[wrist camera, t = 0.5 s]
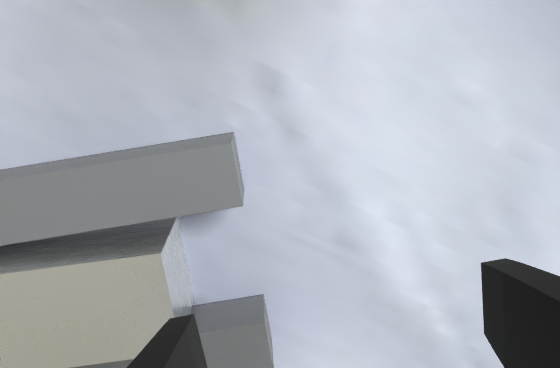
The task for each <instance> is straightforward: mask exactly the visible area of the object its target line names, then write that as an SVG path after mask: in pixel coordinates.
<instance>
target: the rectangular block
mask: <svg viewBox="0 0 560 368" xmlns="http://www.w3.org/2000/svg"><path fill="white" fill-rule="evenodd" d="M193 300H194V298H193V292H192V287H191V282H190V277H189V271H188V266H187V261H186V256H185V250H184V245H183V240H182V235H181V229H180V224H179V219H178V217H173V218H167V219H161V220H155V221H149V222H143V223H137V224H131V225H124V226H118V227H112V228H106V229H100V230H94V231H88V232H82V233H76V234H70V235H64V236H57V237H51V238H45V239H39V240H33V241H27V242H21V243H15V244H9V245H3V246H0V368H71V367H78V366H86V365H93V364H101V363H108V362H116V361H123V360H130V359H135V357H136V356H137V355H138V354H139V353H140V352H141V351H142V349H143V348H144V347H145V346H146V345H147V344H148V343H149V341H150V340H151V339H152V338H153V337H154V336H155V334H156V333H157V332H158V331H159V330H160V329H161V327H162V326H163V325H164V324H165V323H166V322H167V321H168V320H169V319H170V318H175V317H181V316H186V315H190V313H191V309H192V305H193Z"/></svg>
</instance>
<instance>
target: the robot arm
mask: <svg viewBox="0 0 560 368" xmlns="http://www.w3.org/2000/svg"><path fill="white" fill-rule="evenodd" d="M481 272H482V295H483V317H484V334H485V336H486V338H487V339H488V341H489V343H490V344H491V346H492V348H493V350H494V351H495V353H496V355H497V356H498V358H499V360H500V361H501V363H502V364H503V366H504V368H560V276H557V275H554V274H551V273H549V272H546V271H543V270H540V269H538V268H535V267H532V266H529V265H526V264H523V263H520V262H517V261H513V260H509V259H500V260H494V261H489V262H483V263H481ZM127 368H208V367H207V363H206V359H205V355H204V351H203V347H202V343H201V339H200V335H199V331H198V327H197V323H196V319H195V315H194V314H192V315H186V316H181V317H175V318H170V319H169V320H168V321H167V322H166V323H165V324H164V325H163V326H162V327H161V329H160V330H159V331H158V332H157V333H156V334H155V336H154V337H153V338H152V339H151V340H150V341H149V343H148V344H147V345H146V346H145V347H144V348H143V349H142V351H141V352H140V353H139V354H138V355H137V356H136V357H135V359H134V360H133V361H132V362H131V363H130V364H129V365H128V366H127Z"/></svg>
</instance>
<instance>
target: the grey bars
mask: <svg viewBox="0 0 560 368" xmlns="http://www.w3.org/2000/svg"><path fill="white" fill-rule="evenodd" d="M243 196H244V186H243V181H242V176H241V170H240V165H239V159H238V154H237V148H236V143H235V137H234V132H231V133H225V134H219V135H213V136H206V137H200V138H194V139H188V140H182V141H176V142H169V143H163V144H157V145H151V146H145V147H139V148H132V149H126V150H120V151H114V152H108V153H102V154H95V155H89V156H83V157H77V158H71V159H65V160H58V161H52V162H46V163H40V164H34V165H28V166H21V167H15V168H9V169H3V170H0V246H3V245H9V244H15V243H21V242H27V241H33V240H39V239H45V238H51V237H57V236H64V235H70V234H76V233H82V232H88V231H94V230H100V229H106V228H112V227H118V226H124V225H131V224H137V223H143V222H149V221H155V220H161V219H167V218H173V217H179V216H185V215H192V214H198V213H204V212H210V211H216V210H222V209H228V208H234V207H240V206H243ZM192 314H194V315H195V319H196V323H197V327H198V331H199V335H200V339H201V343H202V347H203V351H204V355H205V359H206V363H207V367H208V368H274V365H273V350H272V339H271V333H270V328H269V322H268V317H267V311H266V306H265V300H264V295H257V296H251V297H245V298H239V299H233V300H227V301H221V302H215V303H209V304H203V305H197V306H192V309H191V313H190V315H192ZM133 360H134V359H130V360H123V361H116V362H108V363H101V364H93V365H86V366H78V367H71V368H127V366H128V365H129V364H130V363H131V362H132V361H133Z"/></svg>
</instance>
